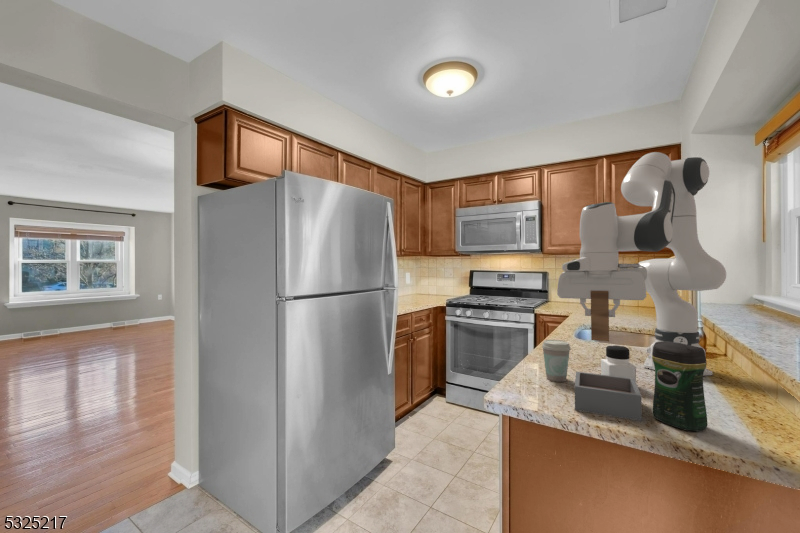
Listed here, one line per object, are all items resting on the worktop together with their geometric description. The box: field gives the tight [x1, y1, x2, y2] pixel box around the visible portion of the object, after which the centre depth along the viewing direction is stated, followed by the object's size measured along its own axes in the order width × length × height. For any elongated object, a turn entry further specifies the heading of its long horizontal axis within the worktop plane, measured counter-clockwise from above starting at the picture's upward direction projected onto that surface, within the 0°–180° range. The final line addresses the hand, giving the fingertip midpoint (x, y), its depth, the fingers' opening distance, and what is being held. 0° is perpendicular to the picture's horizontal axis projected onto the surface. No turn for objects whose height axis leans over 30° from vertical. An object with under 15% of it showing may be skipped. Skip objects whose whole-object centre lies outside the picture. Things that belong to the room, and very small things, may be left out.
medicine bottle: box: [600, 344, 637, 383], centre depth 105 cm, size 7×7×12 cm
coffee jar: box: [652, 341, 708, 432], centre depth 80 cm, size 10×8×19 cm
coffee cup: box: [541, 339, 572, 383], centre depth 112 cm, size 8×8×12 cm
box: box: [574, 371, 642, 422], centre depth 91 cm, size 14×14×6 cm
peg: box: [590, 291, 610, 343], centre depth 91 cm, size 4×4×13 cm
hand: (599, 316), depth 91 cm, fingers closed on peg, 4 cm apart
